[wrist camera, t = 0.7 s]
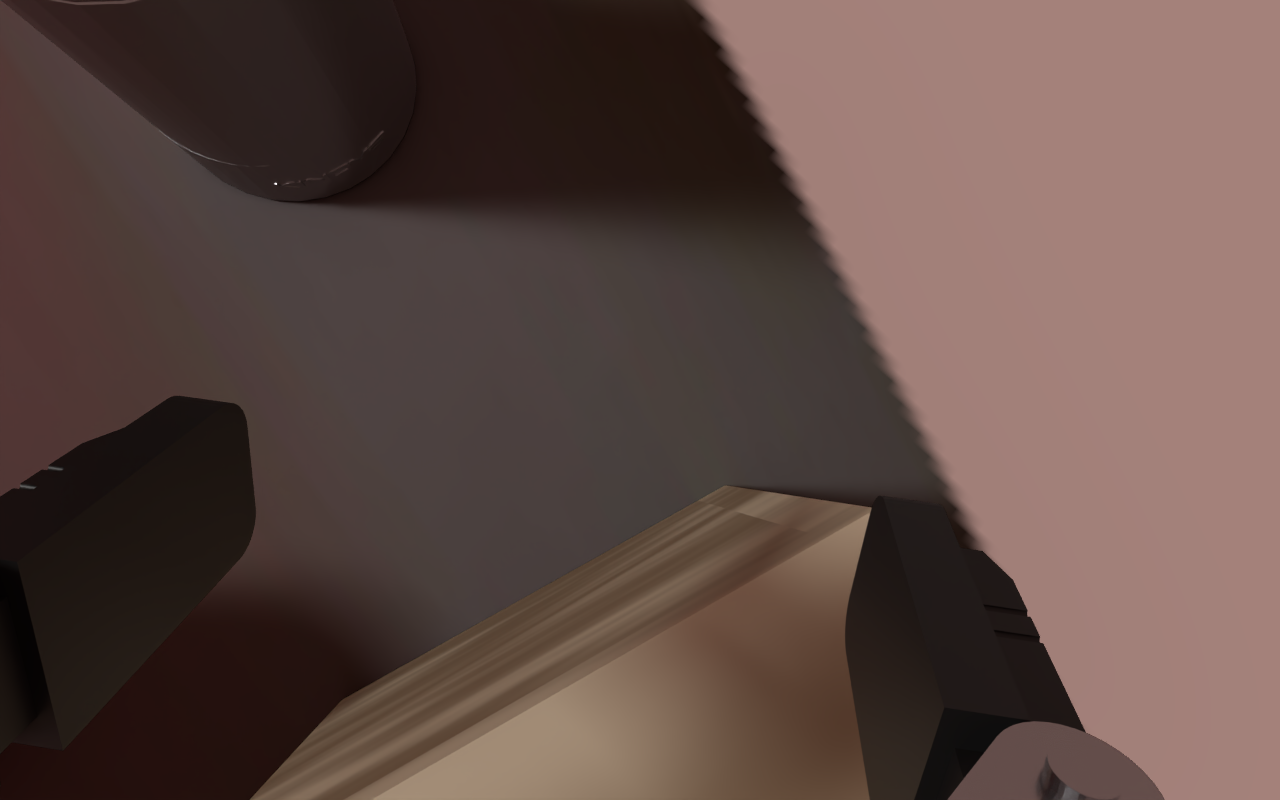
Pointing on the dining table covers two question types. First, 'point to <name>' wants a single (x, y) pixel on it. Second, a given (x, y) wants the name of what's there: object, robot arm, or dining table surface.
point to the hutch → (629, 677)
